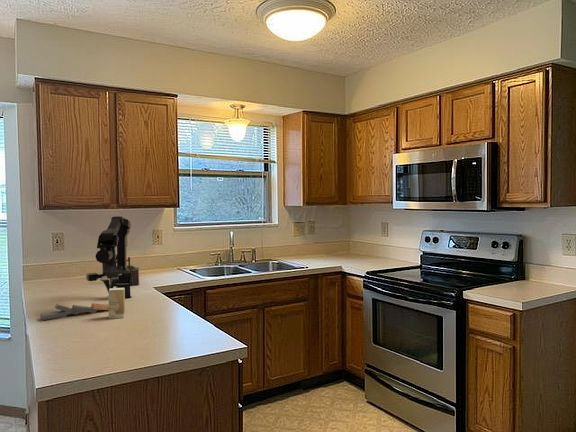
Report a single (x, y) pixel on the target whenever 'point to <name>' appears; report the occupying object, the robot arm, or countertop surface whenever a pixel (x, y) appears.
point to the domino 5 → (100, 306)
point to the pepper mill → (133, 272)
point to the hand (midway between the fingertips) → (110, 294)
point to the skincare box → (116, 303)
